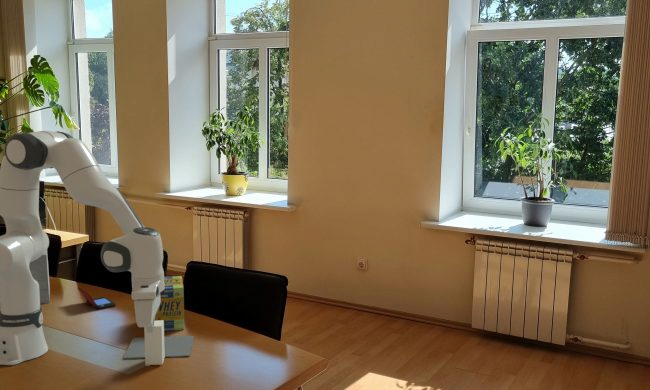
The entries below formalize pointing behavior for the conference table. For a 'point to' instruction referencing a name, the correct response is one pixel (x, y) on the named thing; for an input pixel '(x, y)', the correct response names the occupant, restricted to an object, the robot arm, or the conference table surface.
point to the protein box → (172, 304)
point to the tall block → (155, 344)
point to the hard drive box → (41, 276)
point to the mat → (171, 346)
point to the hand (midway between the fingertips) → (150, 330)
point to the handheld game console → (97, 301)
